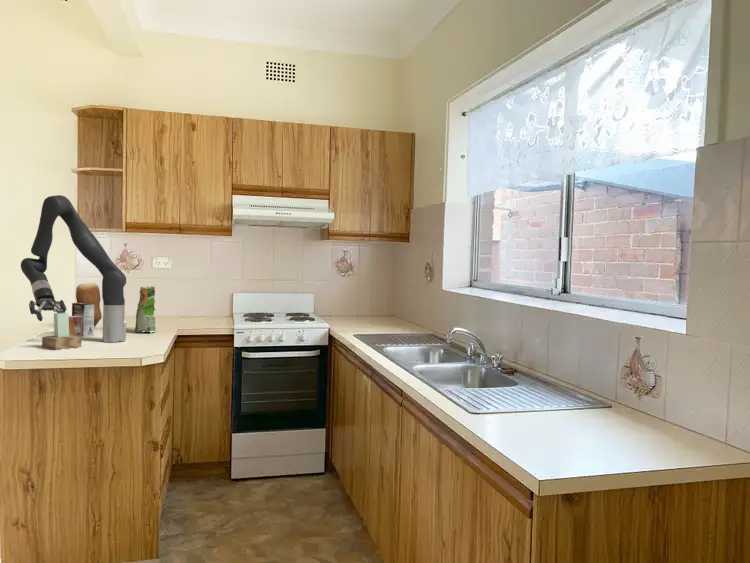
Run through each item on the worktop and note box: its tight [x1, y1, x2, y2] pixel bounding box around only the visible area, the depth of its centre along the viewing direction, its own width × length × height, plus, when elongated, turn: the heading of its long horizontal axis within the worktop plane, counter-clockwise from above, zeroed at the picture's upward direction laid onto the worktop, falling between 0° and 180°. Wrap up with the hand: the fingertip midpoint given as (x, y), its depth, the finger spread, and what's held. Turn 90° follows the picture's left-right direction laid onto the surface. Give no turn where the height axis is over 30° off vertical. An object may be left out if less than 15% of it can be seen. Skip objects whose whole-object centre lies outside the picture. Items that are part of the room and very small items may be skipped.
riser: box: [41, 335, 82, 351], centre depth 253 cm, size 11×11×5 cm
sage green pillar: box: [53, 312, 70, 338], centre depth 253 cm, size 4×4×10 cm
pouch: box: [134, 285, 157, 333], centre depth 310 cm, size 11×12×25 cm
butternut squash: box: [75, 282, 103, 328], centre depth 320 cm, size 14×13×25 cm
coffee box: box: [71, 302, 95, 337], centre depth 294 cm, size 9×6×16 cm
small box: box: [69, 315, 82, 338], centre depth 283 cm, size 8×6×10 cm
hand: (51, 319), depth 260 cm, fingers open, 8 cm apart
